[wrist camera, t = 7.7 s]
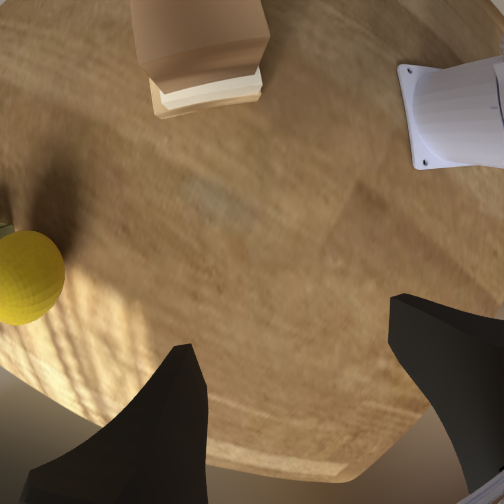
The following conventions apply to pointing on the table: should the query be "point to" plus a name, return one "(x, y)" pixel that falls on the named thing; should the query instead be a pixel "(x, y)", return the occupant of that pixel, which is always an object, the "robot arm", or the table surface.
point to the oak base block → (165, 113)
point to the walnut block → (198, 40)
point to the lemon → (28, 276)
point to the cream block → (213, 91)
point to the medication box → (6, 229)
